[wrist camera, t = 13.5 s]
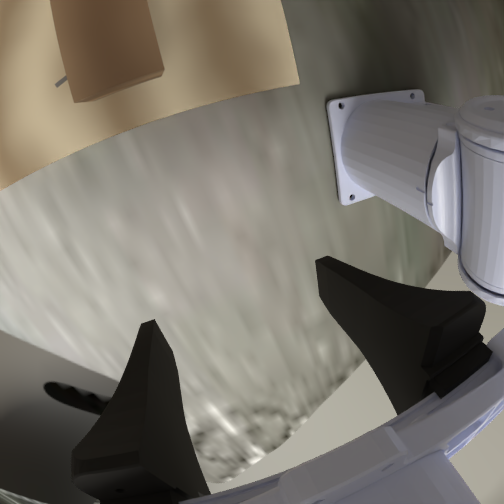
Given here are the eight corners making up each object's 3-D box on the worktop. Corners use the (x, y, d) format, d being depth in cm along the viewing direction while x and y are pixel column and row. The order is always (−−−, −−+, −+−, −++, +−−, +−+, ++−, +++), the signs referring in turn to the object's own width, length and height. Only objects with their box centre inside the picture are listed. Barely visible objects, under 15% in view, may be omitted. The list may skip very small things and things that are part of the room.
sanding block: (132, -38, 11) (130, -75, 7) (161, 76, 15) (164, 69, 11) (66, -14, 10) (43, -43, 6) (94, 101, 15) (74, 103, 10)
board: (250, -79, 12) (255, -85, 11) (293, 84, 18) (299, 83, 18) (-38, 21, 9) (-45, 19, 8) (3, 187, 15) (-3, 192, 15)
